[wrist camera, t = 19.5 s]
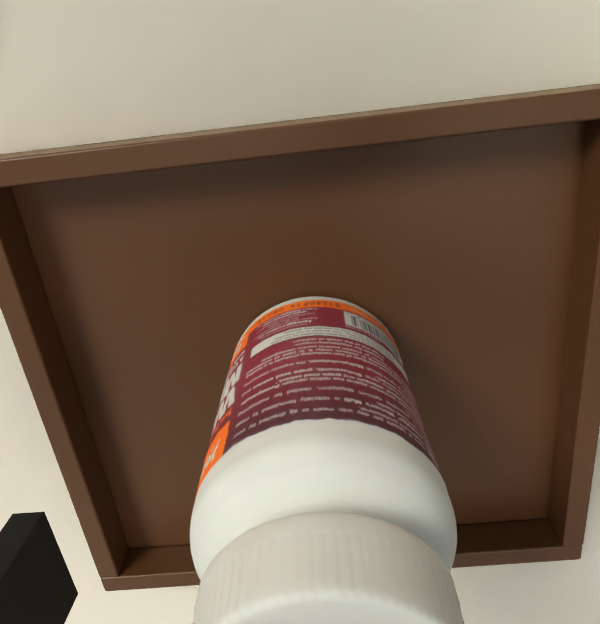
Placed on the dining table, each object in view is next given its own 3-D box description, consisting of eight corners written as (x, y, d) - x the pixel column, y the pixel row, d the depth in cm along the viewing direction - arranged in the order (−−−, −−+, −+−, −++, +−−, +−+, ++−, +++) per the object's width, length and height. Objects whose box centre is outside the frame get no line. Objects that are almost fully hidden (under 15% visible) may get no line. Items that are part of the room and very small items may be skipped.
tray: (-13, 155, 17) (-54, 165, 15) (607, 82, 16) (648, 82, 14) (121, 551, 24) (104, 592, 22) (558, 520, 23) (581, 560, 21)
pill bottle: (213, 309, 18) (92, 601, 8) (387, 274, 18) (498, 543, 7) (256, 448, 21) (205, 811, 10) (410, 422, 20) (519, 780, 10)
